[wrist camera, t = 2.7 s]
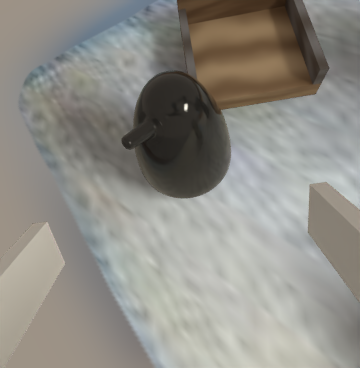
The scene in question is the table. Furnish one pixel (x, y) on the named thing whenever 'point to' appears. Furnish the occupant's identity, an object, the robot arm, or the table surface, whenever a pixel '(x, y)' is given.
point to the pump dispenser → (179, 136)
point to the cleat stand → (251, 49)
